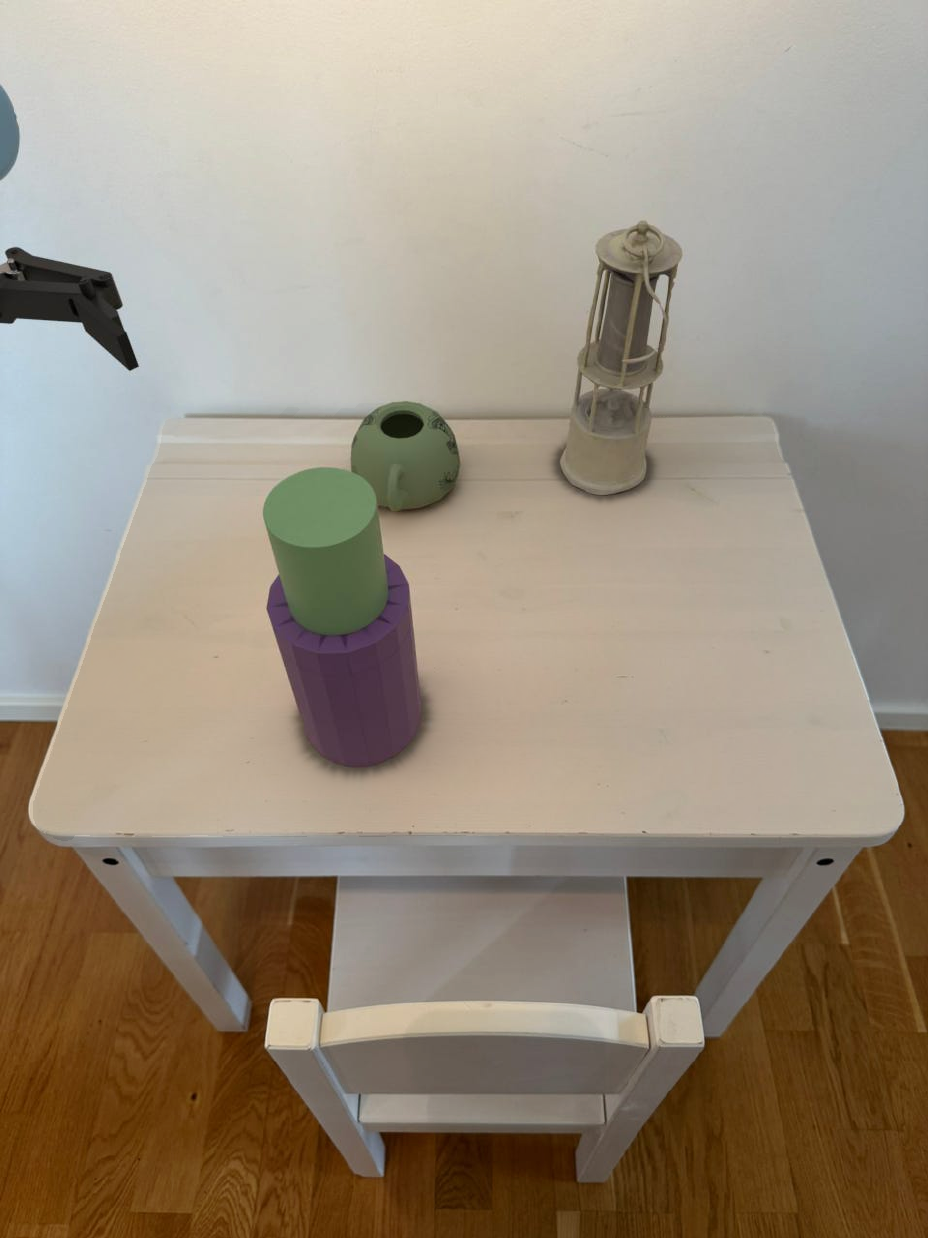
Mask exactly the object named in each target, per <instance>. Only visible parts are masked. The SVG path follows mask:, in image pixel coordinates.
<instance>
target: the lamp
mask: <svg viewBox="0 0 928 1238" xmlns="http://www.w3.org/2000/svg"><path fill="white" fill-rule="evenodd" d="M595 255H596V256H597V258H598V261H599V264H598V266H597V270H596V275H597V279H596V283H595V289H594V294H593V298H592V303H591V306H590V311H589V312H588V311H586V313H589V316H588V322H587V328H586V336H585V337H586V338H585V344H584V346H583V347H582V348H581V349H580V350H579V352H578V355H577V357H576V365H577V367H578V369H577V376H576V384H575V391H574V397H573V403H572V406H571V410H570V420H569V427H568V432H567V433H568V434H567V439H566V446H565V449H564V450H563V452H562V454H561V457H560V459H559V466H560V468H561V472H562V473H563V476H564V477H565V478H566V480H567V481H568V482H569V484H571V485H572V486H574V487H576V488H578V489H580V490H582V491H584V492H586V493H588V494H591V495H592V494H593V495H597V496H606V495H607V496H608V495H614V494H618V493H621V492H625V491H628V490H631V489H634V487H637V486H638V485H639V484H640V483H642V482H643V481H644V479H645V477H646V474H647V459H646V451H647V445H648V440H649V439H648V438H649V433H650V429H651V428H650V427H651V424H652V411H651V408H650V405H651V404H650V403H651V397H652V392H653V387H654V382H656V381H657V379H659V378H660V376H661V375H662V374H663V371H664V361H663V358H662V354H663V352H664V351H665V346H666V342H667V333H668V327H669V321H670V317H669V313H670V312H669V311H670V302H671V299H672V290H673V288H674V287H675V281H674V280H675V279H676V277H677V272H678V267H679V266H678V265H679V263H680V262H681V260H682V258H683V249H682V247H681V245H680V243H678V242H677V241H676V240H675V239H674V238H673V237H671V236H669V235H666V234H665V233H662V231H661V230H660V229H659V228H658V227H656V226H655V225H653V224H649V223H648V221H647V220H640V221H638V223H637V224H634V225H632V226H630V227H628V228H622V229H619V230H618V229H617V230H613V231H611V232H608V233H606V234H604V235H603V236H602V237H600V238H599V239H598V241H597V242H596V244H595ZM604 271H605V273H604ZM603 274H604V279H603V284H602V278H603ZM662 275H663V276H667V277H668V280H667V281H668V283H667V293H666V299H665V308H663V307H662V302H661V300H660V298H659V297H658V296H657V294H656V289H657V283H658V281H659V279H660V276H662ZM601 284H602V289H601ZM600 289H601V294H600ZM599 295H601V296H600V301H599V302H600V303H599V308H598V315H597V322H596V326H595V334H594V340H593V341H592V342H591V340H592V333H593V326H594V320H595V315H596V310H597V305H598V300H599ZM654 301H655V303H657V304H658V305H659V308H660V310H661V312H662V313H661V314H662V316H663V317H662V323H661V329H660V334H659V335H660V336H659V341H658V346H657V348H656V349H654V348H653V347H652V346H651V345H649V344H648V338H649V333H650V325H651V317H652V310H653V302H654ZM605 307H606V308H605ZM583 377H584V378H587V379H588V381H590V382H591V383H593V384H594V385H593V390H590V391H588V392H585V393H583V394H581V389H582V380H583V379H582V378H583ZM600 387H603V388H600ZM645 388H646V395H645V393H644V392H645ZM634 389H639V394H638V395H636V394H634V393H632V392H629V391H631V390H634ZM627 390H629V391H627ZM644 395H645V400H643V397H644Z"/></svg>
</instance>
